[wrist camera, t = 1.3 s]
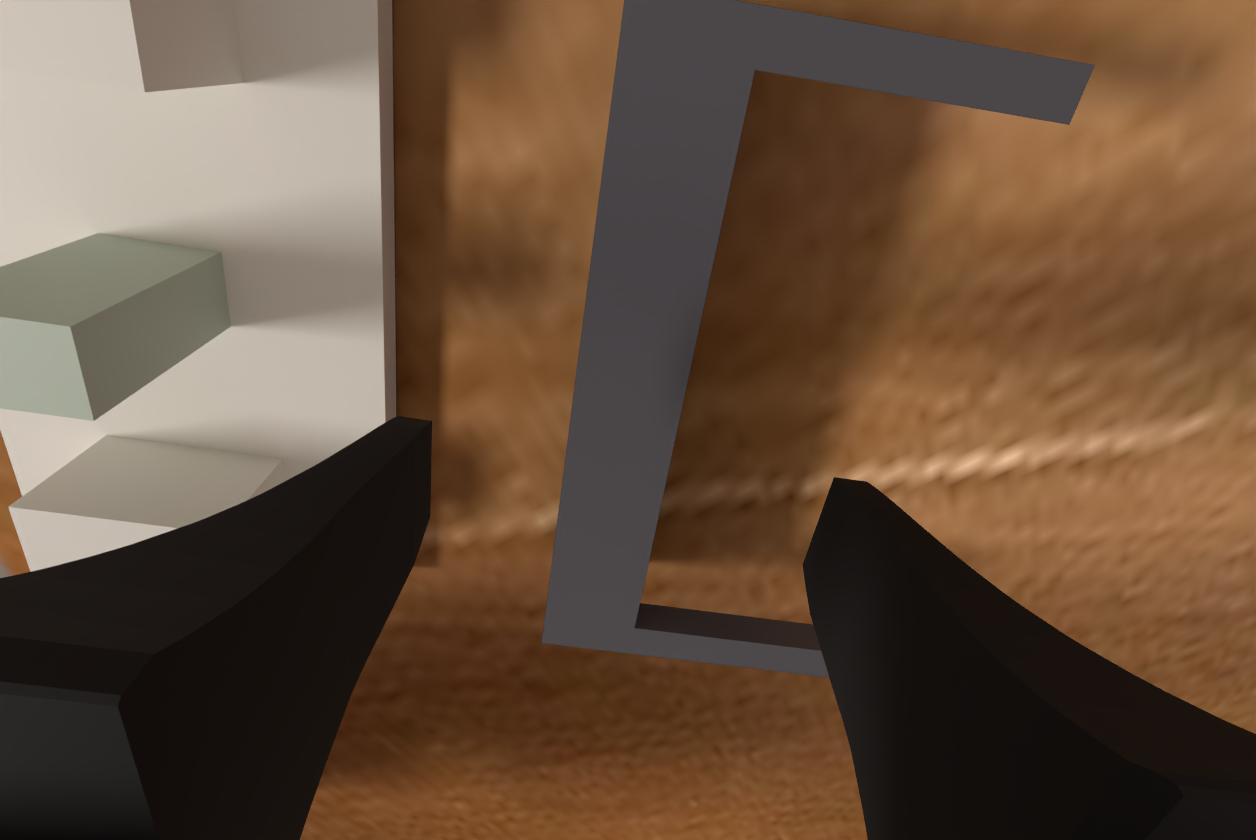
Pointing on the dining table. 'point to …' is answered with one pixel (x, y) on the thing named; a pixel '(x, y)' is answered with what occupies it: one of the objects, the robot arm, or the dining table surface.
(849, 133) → the dining table surface
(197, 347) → the stand
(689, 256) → the grey c-shaped bracket
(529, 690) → the dining table surface
